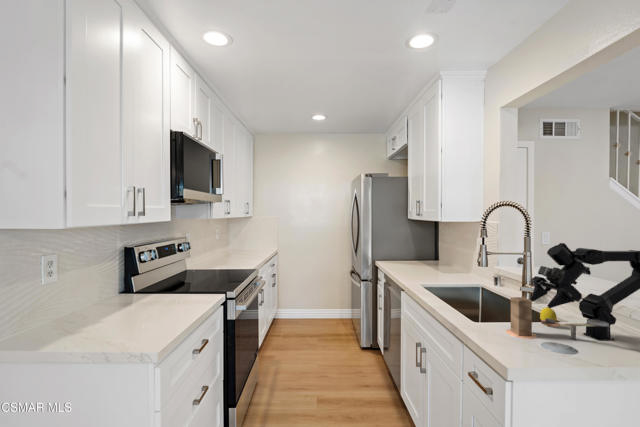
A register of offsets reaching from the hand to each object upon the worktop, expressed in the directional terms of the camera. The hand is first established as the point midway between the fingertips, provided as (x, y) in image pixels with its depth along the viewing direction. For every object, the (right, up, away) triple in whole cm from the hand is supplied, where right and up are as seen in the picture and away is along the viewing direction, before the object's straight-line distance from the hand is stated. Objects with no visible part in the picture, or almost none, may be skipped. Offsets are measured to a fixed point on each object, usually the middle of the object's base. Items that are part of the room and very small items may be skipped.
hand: (539, 303), depth 118 cm
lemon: (+12, -13, +11) cm, 21 cm away
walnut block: (-7, -11, 0) cm, 13 cm away
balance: (+8, -12, -6) cm, 16 cm away
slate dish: (-3, -12, -13) cm, 18 cm away
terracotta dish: (-7, -12, 0) cm, 14 cm away
